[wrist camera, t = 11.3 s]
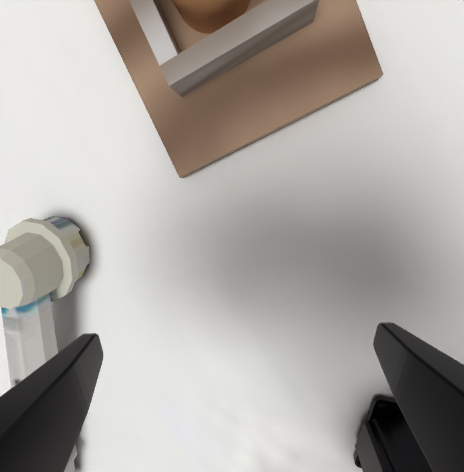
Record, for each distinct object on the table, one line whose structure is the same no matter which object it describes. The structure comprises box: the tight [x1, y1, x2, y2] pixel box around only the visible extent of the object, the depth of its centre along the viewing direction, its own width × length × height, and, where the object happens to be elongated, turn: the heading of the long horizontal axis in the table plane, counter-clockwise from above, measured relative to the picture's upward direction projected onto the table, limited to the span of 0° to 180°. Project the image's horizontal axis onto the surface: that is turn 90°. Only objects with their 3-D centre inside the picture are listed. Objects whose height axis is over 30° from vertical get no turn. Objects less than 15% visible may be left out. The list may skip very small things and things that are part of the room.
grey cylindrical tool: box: [0, 217, 90, 472], centre depth 23 cm, size 5×7×25 cm
